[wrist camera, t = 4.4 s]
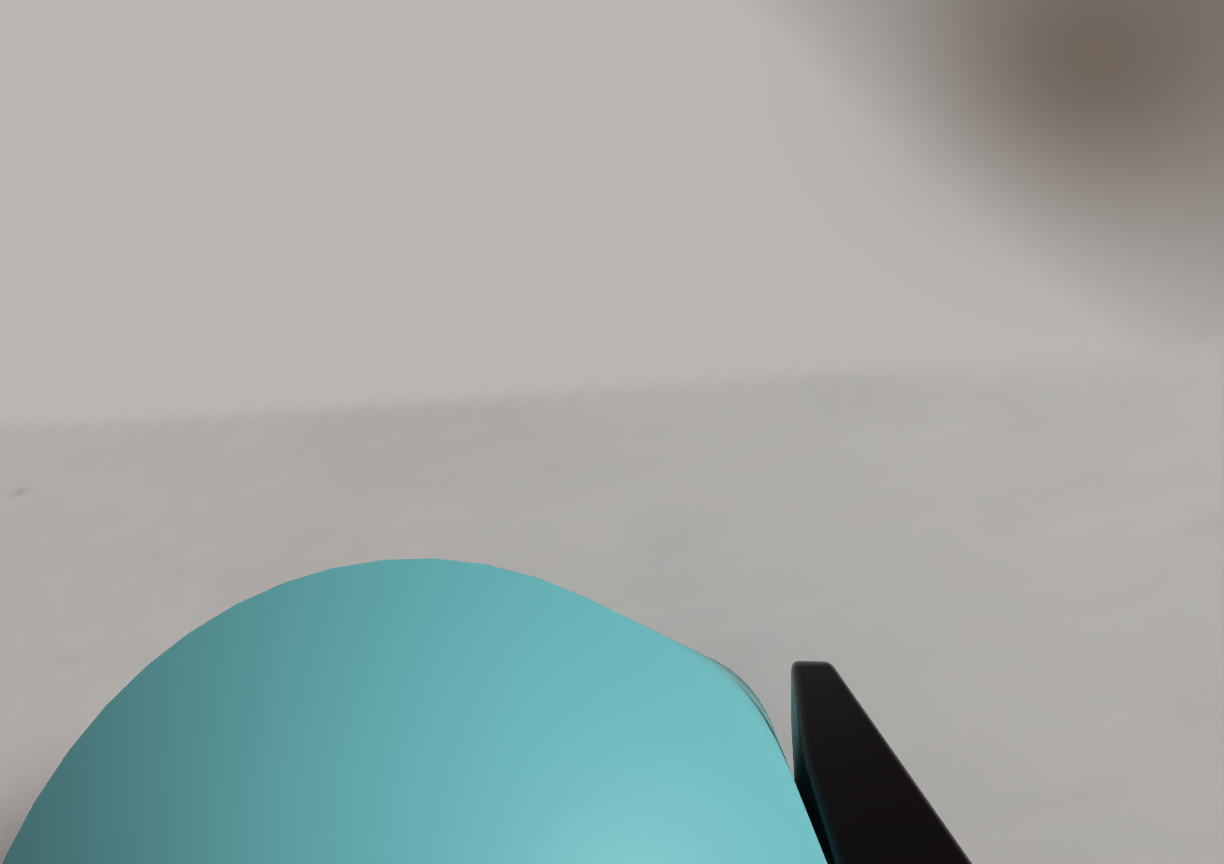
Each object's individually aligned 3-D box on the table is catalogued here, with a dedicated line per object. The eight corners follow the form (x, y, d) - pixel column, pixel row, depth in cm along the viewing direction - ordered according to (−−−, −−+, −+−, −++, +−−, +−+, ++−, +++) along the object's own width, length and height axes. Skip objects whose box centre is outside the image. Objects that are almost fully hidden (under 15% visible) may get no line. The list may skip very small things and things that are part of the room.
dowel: (725, 925, 14) (584, 2163, 2) (530, 809, 15) (-235, 1252, 3) (814, 710, 15) (1043, 827, 3) (623, 614, 16) (254, 432, 4)
